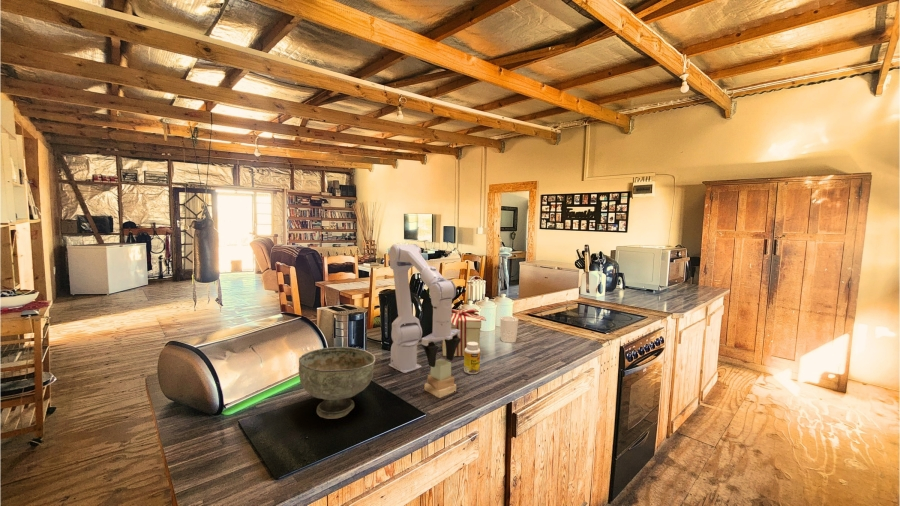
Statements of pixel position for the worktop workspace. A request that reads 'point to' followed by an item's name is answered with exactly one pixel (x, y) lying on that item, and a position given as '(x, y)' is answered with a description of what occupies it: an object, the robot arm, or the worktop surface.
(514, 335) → the beige speckled cup
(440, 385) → the top slab
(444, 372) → the cube
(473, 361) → the supplement bottle
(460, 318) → the gift box
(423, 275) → the robot arm
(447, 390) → the bottom slab
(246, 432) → the worktop surface
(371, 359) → the bowl
